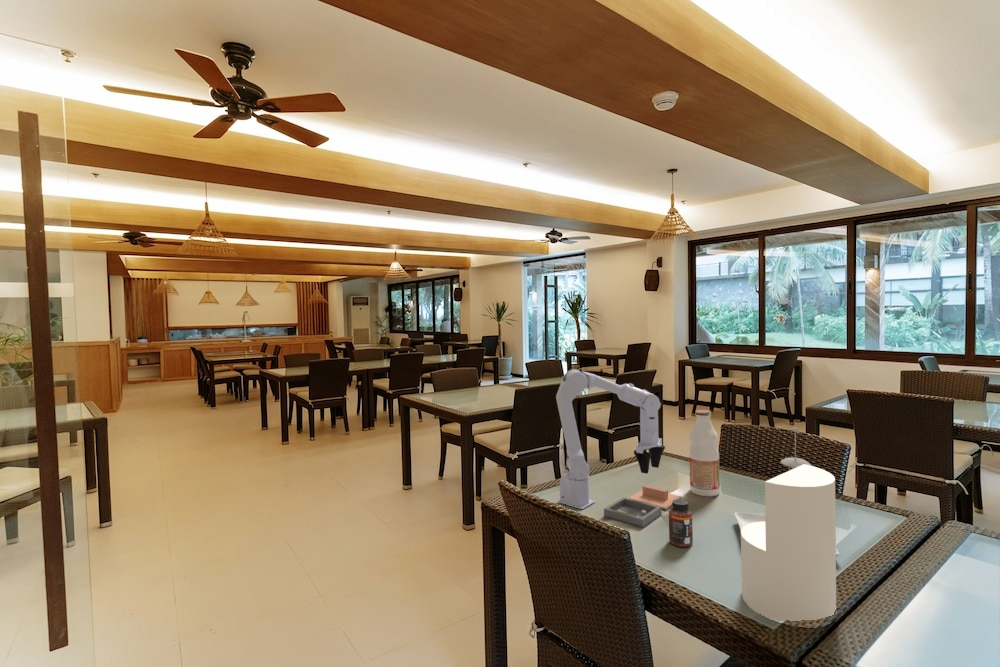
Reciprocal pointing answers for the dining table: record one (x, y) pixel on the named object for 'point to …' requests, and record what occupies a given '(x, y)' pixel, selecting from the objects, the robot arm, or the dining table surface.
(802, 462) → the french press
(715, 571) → the dining table surface
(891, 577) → the dining table surface
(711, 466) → the fruit juice
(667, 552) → the dining table surface
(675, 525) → the supplement bottle
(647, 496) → the lid
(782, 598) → the white stepped round block
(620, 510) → the tub
